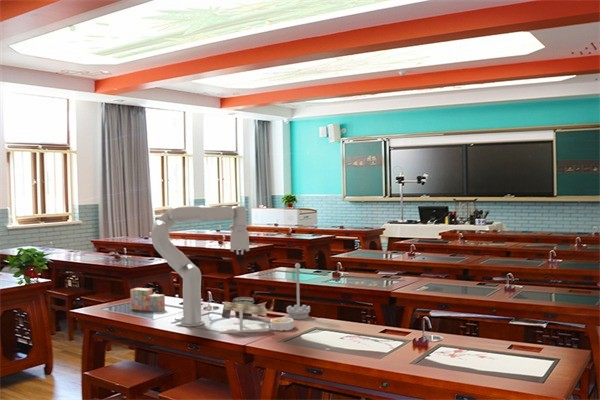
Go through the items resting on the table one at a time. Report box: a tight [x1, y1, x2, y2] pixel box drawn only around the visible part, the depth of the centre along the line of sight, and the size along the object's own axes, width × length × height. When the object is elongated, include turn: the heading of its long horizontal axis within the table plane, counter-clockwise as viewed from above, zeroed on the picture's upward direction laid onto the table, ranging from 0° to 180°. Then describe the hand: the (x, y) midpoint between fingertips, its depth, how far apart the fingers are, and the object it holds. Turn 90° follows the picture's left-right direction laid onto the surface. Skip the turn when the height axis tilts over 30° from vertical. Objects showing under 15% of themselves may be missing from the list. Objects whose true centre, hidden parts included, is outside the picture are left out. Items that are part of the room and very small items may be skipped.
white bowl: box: [269, 317, 295, 332], centre depth 303 cm, size 12×12×4 cm
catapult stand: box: [218, 309, 270, 334], centre depth 301 cm, size 25×12×11 cm, turn 96°
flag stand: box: [286, 262, 311, 320], centre depth 328 cm, size 13×13×30 cm
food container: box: [232, 296, 255, 318], centre depth 333 cm, size 12×6×10 cm, turn 84°
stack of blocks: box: [129, 287, 166, 313], centre depth 354 cm, size 21×6×12 cm, turn 63°
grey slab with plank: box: [221, 301, 268, 320], centre depth 307 cm, size 22×18×7 cm
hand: (240, 261), depth 322 cm, fingers closed
